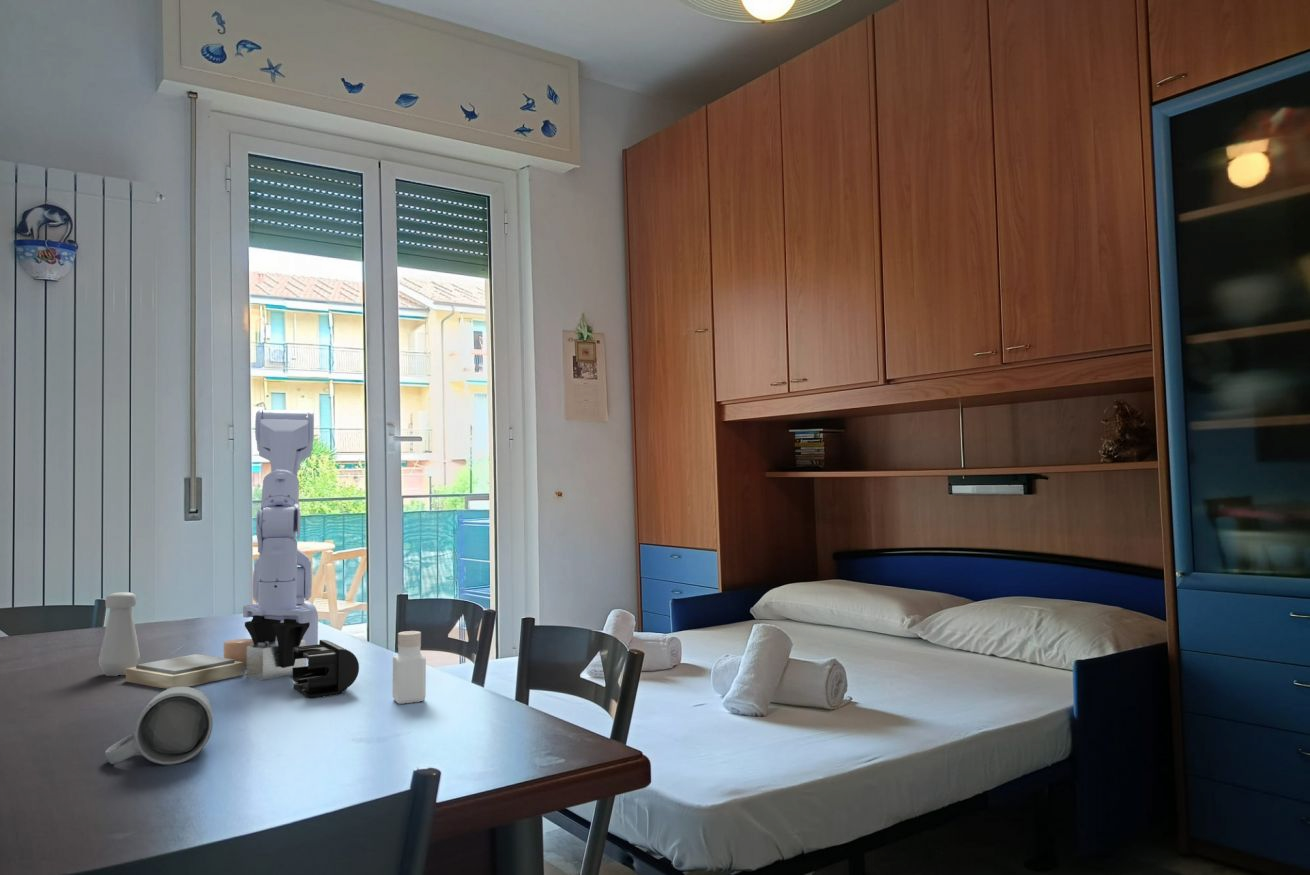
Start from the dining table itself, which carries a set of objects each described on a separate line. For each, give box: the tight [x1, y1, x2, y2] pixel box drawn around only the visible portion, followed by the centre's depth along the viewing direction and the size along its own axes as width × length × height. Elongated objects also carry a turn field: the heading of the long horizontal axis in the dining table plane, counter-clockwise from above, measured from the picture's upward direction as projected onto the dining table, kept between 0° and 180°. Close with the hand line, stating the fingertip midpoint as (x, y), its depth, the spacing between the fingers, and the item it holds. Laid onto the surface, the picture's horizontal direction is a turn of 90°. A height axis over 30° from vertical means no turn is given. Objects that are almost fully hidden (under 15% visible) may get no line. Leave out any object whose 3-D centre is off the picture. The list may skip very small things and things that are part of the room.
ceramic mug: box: [104, 686, 214, 766], centre depth 102 cm, size 11×8×8 cm
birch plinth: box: [125, 653, 245, 690], centre depth 143 cm, size 12×12×2 cm
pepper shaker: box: [392, 630, 427, 705], centre depth 128 cm, size 4×4×10 cm
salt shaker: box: [97, 591, 141, 677], centre depth 147 cm, size 6×6×13 cm
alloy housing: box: [245, 640, 307, 681], centre depth 146 cm, size 8×4×6 cm, turn 150°
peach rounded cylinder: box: [222, 638, 254, 668], centre depth 154 cm, size 5×5×4 cm
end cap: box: [291, 639, 360, 700], centre depth 135 cm, size 10×7×7 cm
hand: (276, 665), depth 146 cm, fingers open, 5 cm apart
